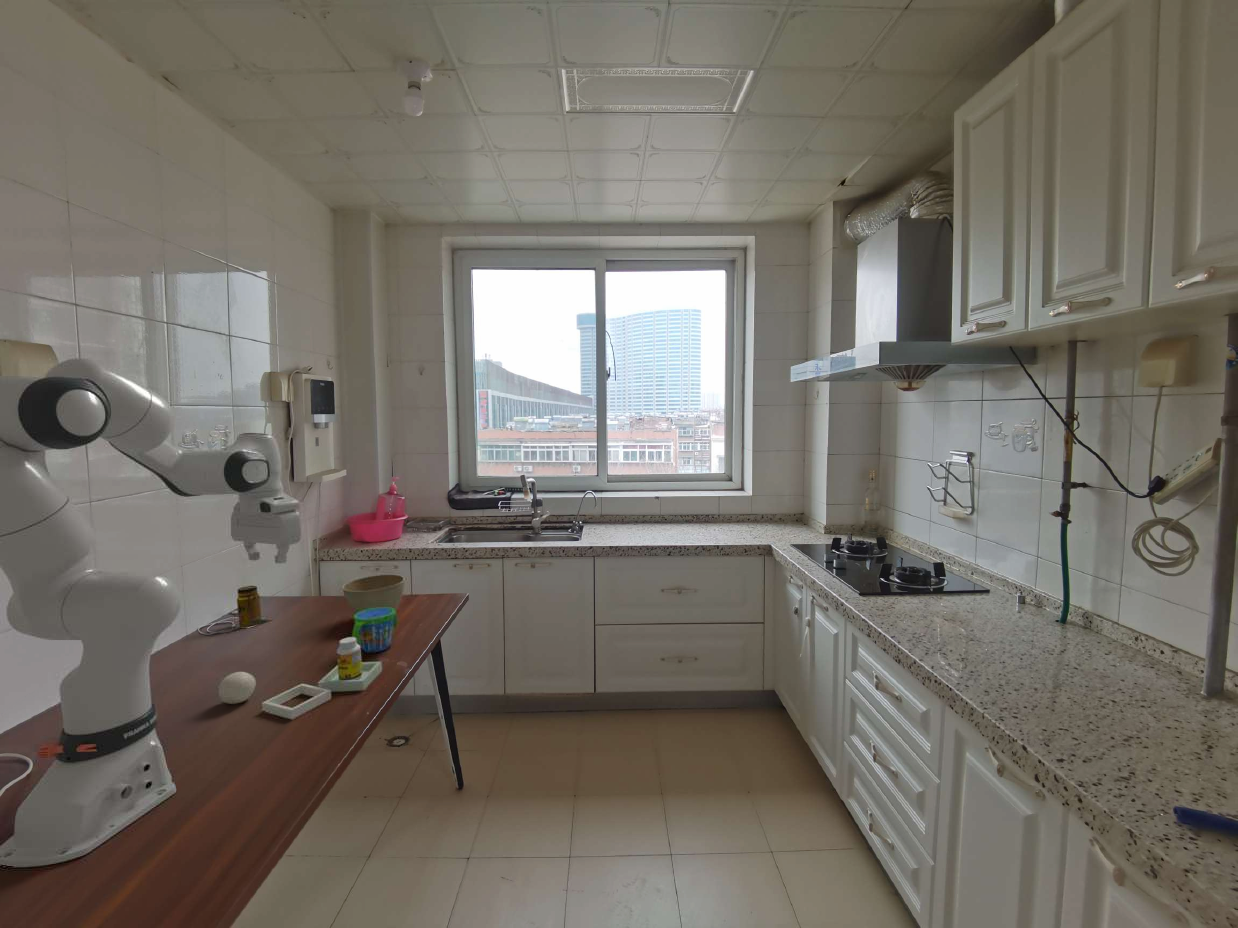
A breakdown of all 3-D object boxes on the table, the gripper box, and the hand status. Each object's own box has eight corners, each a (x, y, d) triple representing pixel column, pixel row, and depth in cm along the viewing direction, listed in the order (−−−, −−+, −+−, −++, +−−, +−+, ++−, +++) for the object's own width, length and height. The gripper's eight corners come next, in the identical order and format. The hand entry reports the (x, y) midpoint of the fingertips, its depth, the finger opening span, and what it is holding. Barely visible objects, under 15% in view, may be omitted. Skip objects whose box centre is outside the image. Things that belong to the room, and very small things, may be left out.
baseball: (264, 694, 132) (262, 667, 131) (235, 710, 125) (233, 681, 124) (242, 692, 134) (239, 664, 133) (212, 707, 127) (209, 678, 126)
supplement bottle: (334, 680, 136) (331, 641, 136) (353, 671, 141) (350, 634, 140) (348, 684, 134) (344, 645, 133) (367, 675, 138) (364, 637, 138)
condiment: (232, 626, 179) (229, 589, 178) (257, 617, 187) (254, 582, 186) (249, 629, 177) (245, 591, 176) (273, 619, 184) (270, 583, 184)
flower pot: (350, 614, 187) (347, 578, 186) (408, 606, 193) (405, 572, 192) (341, 633, 170) (338, 593, 169) (404, 624, 175) (402, 586, 174)
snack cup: (384, 635, 167) (382, 602, 166) (412, 640, 163) (409, 605, 162) (339, 656, 152) (336, 620, 152) (368, 662, 148) (365, 624, 147)
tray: (363, 690, 132) (363, 680, 132) (318, 692, 132) (317, 682, 132) (382, 670, 143) (381, 661, 143) (340, 671, 143) (339, 663, 143)
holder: (331, 698, 129) (330, 690, 129) (292, 719, 120) (291, 710, 120) (302, 691, 133) (302, 683, 133) (262, 711, 124) (262, 702, 124)
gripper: (220, 503, 132) (225, 561, 133) (278, 506, 124) (283, 567, 125) (247, 499, 138) (252, 555, 139) (304, 502, 130) (309, 561, 131)
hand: (267, 561), depth 132 cm, fingers open, 8 cm apart
